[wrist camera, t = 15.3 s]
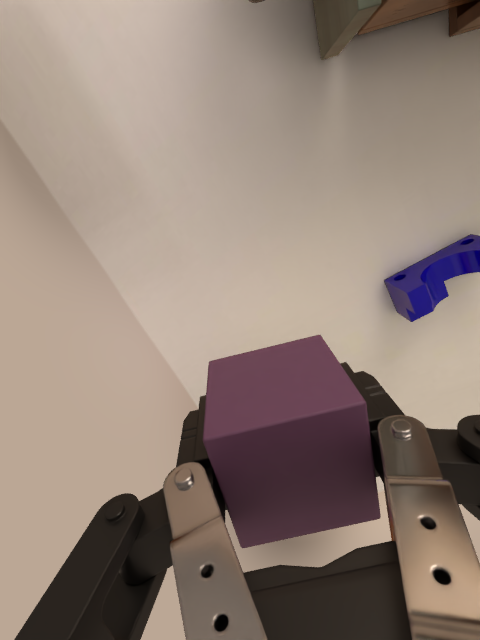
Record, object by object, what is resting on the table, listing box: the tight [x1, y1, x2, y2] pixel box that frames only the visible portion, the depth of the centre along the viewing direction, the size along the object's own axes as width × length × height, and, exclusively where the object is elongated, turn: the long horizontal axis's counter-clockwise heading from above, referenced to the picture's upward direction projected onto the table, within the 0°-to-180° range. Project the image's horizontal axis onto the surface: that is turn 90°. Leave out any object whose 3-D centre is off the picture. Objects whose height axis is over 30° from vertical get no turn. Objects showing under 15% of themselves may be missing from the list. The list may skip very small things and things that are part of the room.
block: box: [203, 335, 380, 548], centre depth 12 cm, size 4×4×4 cm
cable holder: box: [384, 234, 480, 322], centre depth 28 cm, size 8×4×4 cm, turn 120°
